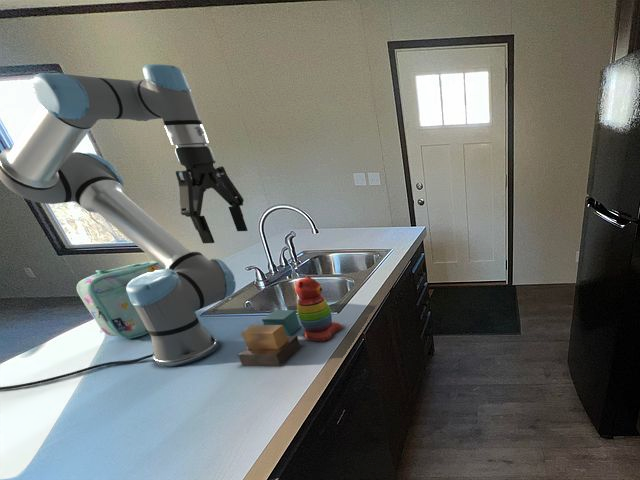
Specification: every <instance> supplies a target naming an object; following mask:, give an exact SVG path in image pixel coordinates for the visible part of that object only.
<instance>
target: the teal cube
mask: <svg viewBox="0 0 640 480" xmlns="http://www.w3.org/2000/svg"><path fill="white" fill-rule="evenodd" d="M261 321H262V324H263V325H283V327H284V330H285V333H286V336H293V335H294V334H295V333H296V332H297V331H298V330H299V329H300V328H301V322H300V320H299V318H298V313H297V312H296V309H274V310H273V311H271V312H269V314H267V315H266V316H265V317H263V318H262V319H261Z"/></svg>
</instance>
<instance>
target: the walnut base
mask: <svg viewBox="0 0 640 480" xmlns="http://www.w3.org/2000/svg"><path fill="white" fill-rule="evenodd" d="M287 339H288V341H287V342H286V343H285V344H284V345H283V346H282V347H281V348H280V349H248V348H247V347H245V348H244V349H243V350H242V351H240V352H239V353H238V354H237V356H238V358H239V360H240V363H241V365H242V367H243V366H244V367H281V366H282V365H283V364H284V363H285V362H286V361H287V360H288V359H290V357H291V356H292V355H293V354H295V352H297V351H298V349H300V348H301V343H300V341H299V338H298V335H291V336H287Z"/></svg>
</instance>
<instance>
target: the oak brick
mask: <svg viewBox="0 0 640 480" xmlns="http://www.w3.org/2000/svg"><path fill="white" fill-rule="evenodd" d="M241 335H242V338H243V340H244V343H245V345H246V348H248V349H280V348H281V347H282V346H283V345H284V344H285V343H286V342H287V341H288V339H287V336H286V333H285V330H284V327H283V325H264V324H253V325H251V326H249V327H248V328H246V329H245V330H243V331H242V332H241Z"/></svg>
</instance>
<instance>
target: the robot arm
mask: <svg viewBox="0 0 640 480" xmlns="http://www.w3.org/2000/svg"><path fill="white" fill-rule="evenodd" d="M141 70H142V73H143V77H144V79H137V80H136V79H135V80H131V79H130V80H129V79H121V78H120V79H118V78H110V77H109V78H107V77H95V76H85V75H77V74H67V73H64V72H39V73H36V74H35V75H34V76H33V78H32V84H33V93H34V94H35V96H36V98H37V100H38V102H39V105H37V107H36V109H35V110H34V113H33V114H32V116H31V117H30V119H29V120H28V122H27V123H26V125H25V127H24V128H23V130H22V132H21V133H20V135H19V136H18V138H17V140H16V141H15V143H14V144H13V146H12V147H6V148H5V149H3V150H1V152H0V181H1V183H2V184H3V185H4V186H5V187H6V188H8V189H9V190H10V191H11V192H13V193H14V194H16V195H18V196H19V197H21V198H23V199H26V200H28V201H32V202H35V203H38V204H45V205H57V204H65V203H73V202H74V203H77V204H78V205H79V206H80V207H81V208H83V210H85V211H86V212H89V213H92V214H93V213H95V214H99V215H100V216H101V217H102V218H103V219H105V220H106V222H108V223H109V224H110V225H112V226H113V227H114V228H115V229H116V230H117V231H119V232H120V233H121V234H122V235H124V236H125V237H126V238H127V239H129V240H130V241H131V242H132V243H133V244H135V246H137V247H138V248H139V249H140V250H141V251H142V252H144V253H145V254H146V255H147V256H149V257H150V258H151V259H152V260H153V261H156V262H157V263H158V264H160V265H161V266H162V267H163V268H164V269H162V270H156V271H154V272H149V273H146V274H143V275H140V276H138V277H136V278H134V279H133V280H131V281H130V282H129V283H128V285H127V287H126V291H127V293H128V296H129V298H130V301H131V303H132V305H134V307H135V309H136V311H137V312H138V314H139V316H140V318H141V320H142V321H143V323H144V325H145V327H146V328H147V330H148V332H149V333H148V334H149V335H150V338H151V344H152V350H153V352H152V353H151V354H147V355H145V356H141V357H139V358H134V359H129V360H118V361H117V360H116V361H108V362H103V363H99V364H96V365H92V366H91V365H90V366H88V367H86V368H81V369H78V370H75V371H72V372H68V373H65V374H60V375H57V376H53V377H48V378H45V379H41V380H36V381H30V382H26V383H20V384H14V385H7V386H0V391H2V390H11V389H17V388H24V387H29V386H34V385H40V384H43V383H47V382H52V381H55V380H59V379H63V378H66V377H67V378H68V377H71V376H74V375H78V374H80V373H84V372H87V371H91V370H94V369H97V368H101V367H105V366H110V365H119V364H121V365H122V364H132V363H137V362H141V361H143V360H146V359H149V358H153V360H154V361H155V363H156V364H157V366H161V367H179V366H184V365H187V364H192V363H194V362H196V361H199V360H202V359H204V358H206V357H208V356H209V355H211V354H213V353H214V352H215V351H216V350H217V349H218V346H219V344H218V341H217V339H216V337H214V336H213V335H212V334H211V333H210V332H209V331H208V330H207V329H206V328H205V327H204V326H203V325H202V324H201V322H200V320H199V318H198V316H197V313H196V312H197V311H201V310H202V309H204V308H207V307H209V306H211V305H213V304H216V303H219V302H221V301H225V300H226V298H229V297H230V296H232V295H233V294H234V292H235V291H236V287H237V286H236V285H237V284H236V279H235V275H234V273H233V271H232V269H231V268H230V266H229V265H228V264H227V263H226V262H224V261H223V260H222V259H219V258H211V259H209V258H207V257H206V256H205V255H204V254H203V253H201V252H200V251H197V250H190V249H189V248H188V247H187V246H185V245H184V244H183V243H182V242H181V241H180V240H178V238H176V237H175V236H174V235H172V234H171V233H170V232H169V231H168V230H167V229H166V228H164V227H163V226H162V225H161V224H160V223H159V222H157V221H156V220H155V219H154V218H153V217H151V216H150V215H149V214H148V213H147V212H145V211H144V209H142V208H141V207H140V206H138V204H137V203H135V202H134V201H133V200H132V199H131V198H129V197H128V195H126V190H125V184H124V180H123V178H122V176H121V175H120V174H118V170H117V169H116V168H115V166H114V165H112V164H111V163H110V161H108V160H107V159H105V158H104V157H102V156H100V155H99V154H95V153H91V152H81V151H79V152H78V151H75V150H76V148H77V147H78V146H79V145H80V144H81V142H82V141H83V140H84V138H86V135H88V133H89V132H90V130H91V129H92V128H93V127H94V125H95V124H96V123H97V122H98V121H99V120H131V121H136V122H137V121H138V122H141V121H143V122H148V121H150V120H160V119H161V120H162V122H163V125H164V128H165V130H166V133H167V136H168V138H169V140H170V143H171V145H172V146H175V147H176V148H174V153H175V155H176V158H177V160H178V162H179V164H180V165H181V166H183V167H185V170H176V171H175V176H176V178H177V182H178V195H179V196H178V197H179V198H178V199H179V212H180V215H182V216H185V218H186V217H187V218H190V219H191V221H192V224H193V227H194V229H195V230H196V231H197V232H198V235H199V238H200V240H201V242H202V244H215V243H216V242H215V239H214V237H213V234H212V232H211V229H210V227H209V224H208V222H207V219H206V217H205V215H201V214H202V208H203V202H204V195H205V192H207V190H209V189H213V190H214V191H215V192H216V193H217V194H218V195H219V196H220V197H221V198H222V199H223V200H224V201H225V202H227V203H228V205H229V206H228V210H229V213H230V215H231V218H232V220H233V224H234V226H235V229H236V231H237V232H247V231H249V230H248V227H247V224H246V222H245V219H244V213H243V211H242V208H241V206H242V207H243V206H244V201H245V199H244V198H243V196H242V194H241V193H240V191H238V189H237V187H236V186H235V185H234V183H233V182H232V180H231V179H230V177H229V176H228V174H227V171H226V169H225V167H224V166H214V164H216V163H217V162H216V161H217V160H216V158H215V155H214V151H213V149H212V147H211V146H208V144H209V143H210V142H209V140H208V136H207V133H206V131H205V128H204V126H203V122H202V119H201V116H200V114H199V111H198V107H197V105H196V102H195V98H194V96H193V93H192V89H191V87H190V86H189V83H188V80H187V78H186V76H185V74H184V71H183V70H182V69H181V68H179V67H178V66H175V65H171V64H164V63H163V64H160V63H155V64H154V63H152V64H151V63H150V64H145V65H143V66H142V68H141Z"/></svg>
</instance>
